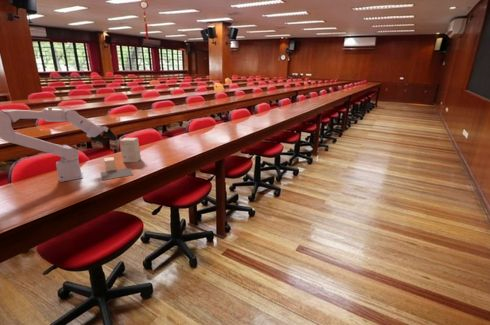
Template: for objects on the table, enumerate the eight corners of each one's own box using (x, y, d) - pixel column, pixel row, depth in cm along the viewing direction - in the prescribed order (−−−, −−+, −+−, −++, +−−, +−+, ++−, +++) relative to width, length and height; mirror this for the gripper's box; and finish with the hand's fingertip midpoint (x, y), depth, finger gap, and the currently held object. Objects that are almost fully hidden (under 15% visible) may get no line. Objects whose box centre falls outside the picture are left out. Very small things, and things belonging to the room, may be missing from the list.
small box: (141, 159, 161) (138, 137, 156) (137, 162, 155) (134, 140, 150) (127, 159, 161) (124, 137, 157) (122, 162, 155) (119, 140, 151)
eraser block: (106, 171, 142) (104, 161, 140) (105, 167, 147) (104, 158, 145) (116, 169, 144) (114, 159, 142) (114, 166, 149) (113, 156, 147)
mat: (102, 180, 130) (102, 180, 130) (100, 172, 140) (100, 172, 139) (133, 175, 136) (133, 174, 136) (129, 167, 146) (129, 167, 146)
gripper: (99, 116, 132) (122, 131, 142) (81, 123, 139) (104, 137, 149) (94, 128, 129) (118, 142, 139) (76, 134, 135) (100, 148, 146)
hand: (111, 140), depth 144 cm, fingers open, 7 cm apart
